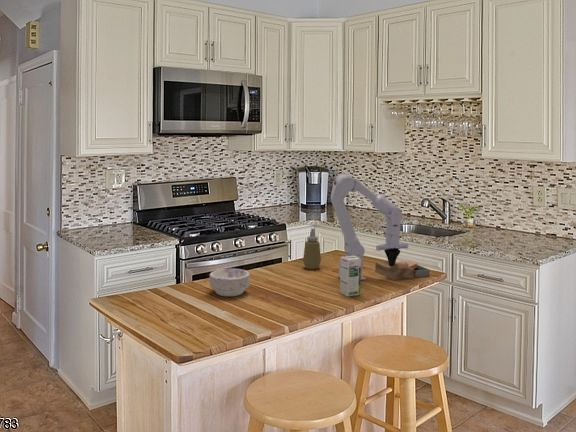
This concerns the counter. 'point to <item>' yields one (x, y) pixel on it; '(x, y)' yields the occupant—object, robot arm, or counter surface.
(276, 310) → the counter surface
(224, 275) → the marbled grey bowl
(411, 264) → the tile far
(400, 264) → the tile near
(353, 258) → the syrup box
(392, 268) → the brown flat block
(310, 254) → the squeeze bottle
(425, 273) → the tray
